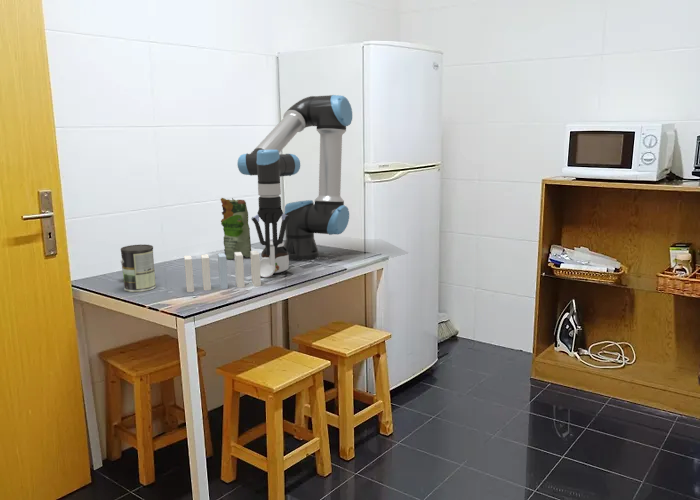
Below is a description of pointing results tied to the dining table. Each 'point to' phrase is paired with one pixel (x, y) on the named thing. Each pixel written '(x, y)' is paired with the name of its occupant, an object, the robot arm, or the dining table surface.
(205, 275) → the domino
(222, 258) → the domino
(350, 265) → the dining table surface
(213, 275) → the dining table surface
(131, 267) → the coffee can
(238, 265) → the domino
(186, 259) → the domino
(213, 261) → the dining table surface
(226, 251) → the pouch
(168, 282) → the dining table surface
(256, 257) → the domino
